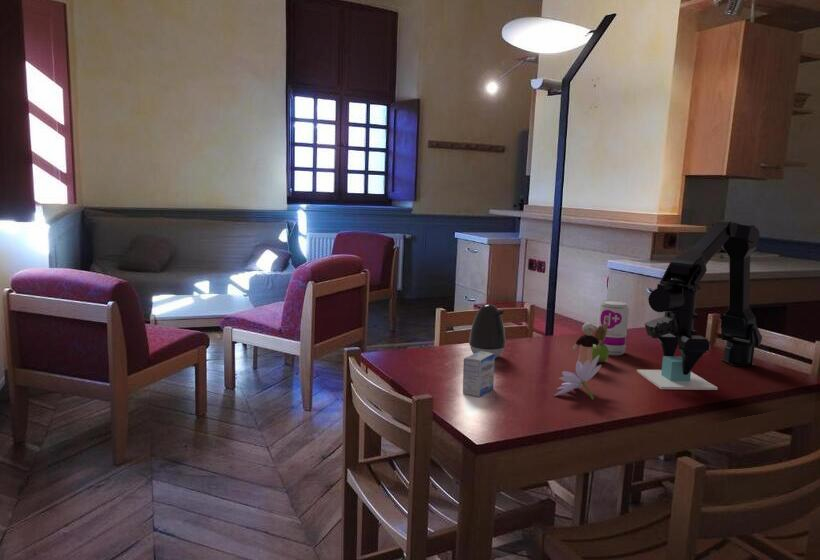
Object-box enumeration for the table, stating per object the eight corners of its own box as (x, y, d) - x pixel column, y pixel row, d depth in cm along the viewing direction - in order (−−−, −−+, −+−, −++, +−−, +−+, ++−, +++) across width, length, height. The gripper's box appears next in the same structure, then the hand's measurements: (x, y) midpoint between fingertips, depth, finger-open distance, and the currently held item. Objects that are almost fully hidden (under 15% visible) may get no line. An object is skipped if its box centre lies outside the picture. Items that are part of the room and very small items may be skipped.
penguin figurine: (487, 364, 161) (490, 309, 159) (461, 355, 169) (463, 302, 167) (513, 358, 168) (515, 305, 166) (486, 350, 176) (488, 299, 174)
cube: (680, 375, 154) (682, 356, 154) (689, 381, 149) (691, 362, 149) (661, 374, 154) (663, 356, 153) (670, 381, 149) (672, 361, 149)
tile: (688, 372, 159) (688, 370, 159) (717, 389, 145) (717, 387, 145) (636, 371, 158) (637, 369, 158) (660, 389, 145) (661, 386, 145)
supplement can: (619, 357, 172) (624, 306, 169) (591, 352, 176) (595, 302, 174) (628, 352, 178) (632, 302, 176) (601, 347, 183) (605, 299, 181)
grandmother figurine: (578, 372, 157) (582, 324, 155) (569, 368, 160) (572, 321, 158) (602, 369, 160) (606, 323, 158) (593, 365, 163) (596, 320, 161)
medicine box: (479, 398, 135) (481, 360, 134) (461, 394, 138) (463, 357, 136) (493, 388, 142) (495, 353, 141) (476, 385, 144) (478, 350, 143)
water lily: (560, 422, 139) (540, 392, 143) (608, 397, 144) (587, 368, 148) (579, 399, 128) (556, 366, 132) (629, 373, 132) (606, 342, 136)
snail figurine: (613, 361, 168) (616, 319, 166) (602, 366, 163) (606, 323, 161) (595, 357, 171) (598, 316, 169) (584, 361, 167) (587, 319, 165)
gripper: (635, 300, 158) (630, 358, 160) (668, 315, 139) (662, 380, 142) (676, 301, 158) (670, 358, 161) (714, 316, 140) (707, 380, 142)
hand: (676, 369), depth 151 cm, fingers open, 9 cm apart
